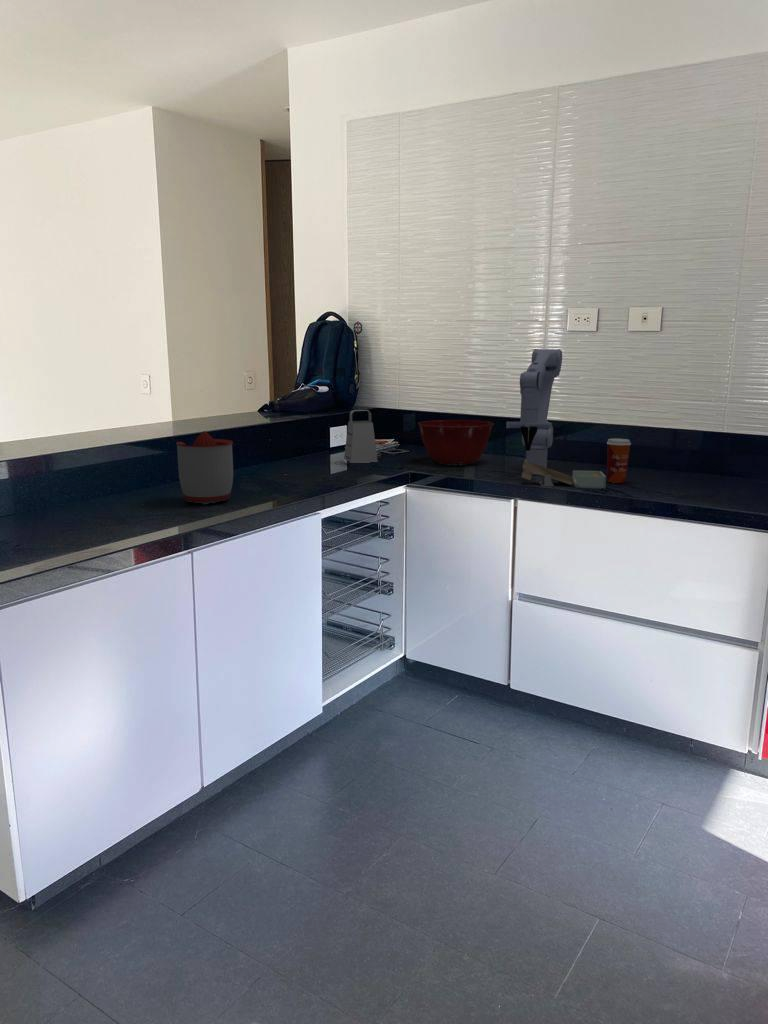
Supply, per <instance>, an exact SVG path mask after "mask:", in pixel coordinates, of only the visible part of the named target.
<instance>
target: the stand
mask: <svg viewBox="0 0 768 1024" xmlns="http://www.w3.org/2000/svg"><path fill="white" fill-rule="evenodd" d="M538 482H539V485H540V484H541V485H540V487H550V486H554V487H555V485H554V482H553V481H552V478H551V474H545V476H543V475H542V480H539V481H538Z"/></svg>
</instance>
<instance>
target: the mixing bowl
mask: <svg viewBox="0 0 768 1024" xmlns="http://www.w3.org/2000/svg"><path fill="white" fill-rule="evenodd" d="M417 425H418V428H419V432H420V436H421V439H422V442H423V445H424V447H425V449H426V451H427V453H428V456H429V457H430V458H431V459H432V460H433V461H434V462H436V463H437V462H438V463H442V464H457V465H459V464H470V465H473V464H474V463H476V461H478V460H480V458H481V456H482V454H483V453H484V451H485V449H486V447H487V445H488V443H489V440H490V436H491V434H492V430H493V426H494V425H495V424H494V422H491V421H484V420H472V419H470V420H469V419H468V420H466V419H440V420H439V419H437V420H436V419H435V420H425V421H419V422H417ZM438 463H437V464H438ZM472 463H473V464H472ZM459 466H460V465H459Z"/></svg>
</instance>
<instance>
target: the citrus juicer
mask: <svg viewBox="0 0 768 1024" xmlns="http://www.w3.org/2000/svg"><path fill="white" fill-rule="evenodd" d="M175 444H176V450H177V466H178V467H177V468H178V469H177V470H178V478H179V484H180V488H181V491H182V494H183V496H184V499H185V500H188V501H192V502H209V501H219V500H223V499H227V498H230V496H231V492H232V488H233V483H234V459H233V458H234V457H233V444H234V441H233V440H230V439H222V438H213V437H212V436H211V435H210V434H209V433H208V432H207V431H202V432H201V433H200V434H198V436H197V437H196V438H195V440H194V441H193V443H192V445H186V443H185V442H183V441H176V443H175Z"/></svg>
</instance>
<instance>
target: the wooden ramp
mask: <svg viewBox="0 0 768 1024" xmlns="http://www.w3.org/2000/svg"><path fill="white" fill-rule="evenodd" d="M522 469H523V470H522V472H521V475H520V476H521V478H522V479H525V480H529V481H531V479H532V477H533V475H534V474H533V472H534V473H537V474H540V476H542V477H543V476H545V474H551V480H555V481H559V482H561V483H565V484H566V485H569V486H572V484H573V480H574V479H572V475H570V474H566V473H564V472H560V471H557V470H554V469H551V468H548V467H547V468H545V467H542V466H539V465H536V464H533V463H530V462H527V460H526V459H524V460H523V464H522Z"/></svg>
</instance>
